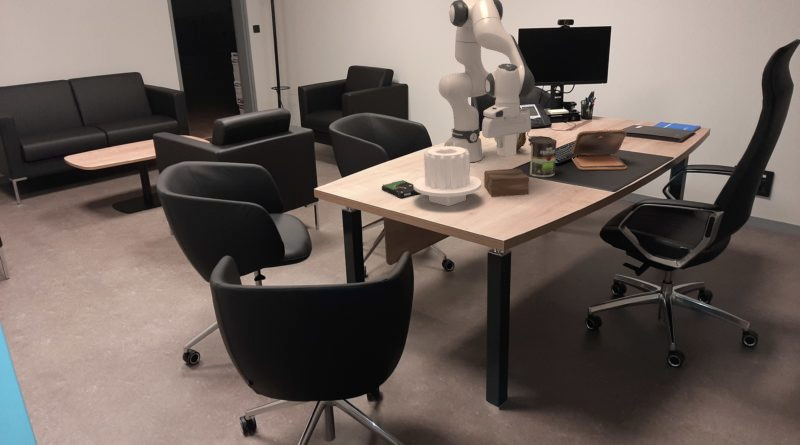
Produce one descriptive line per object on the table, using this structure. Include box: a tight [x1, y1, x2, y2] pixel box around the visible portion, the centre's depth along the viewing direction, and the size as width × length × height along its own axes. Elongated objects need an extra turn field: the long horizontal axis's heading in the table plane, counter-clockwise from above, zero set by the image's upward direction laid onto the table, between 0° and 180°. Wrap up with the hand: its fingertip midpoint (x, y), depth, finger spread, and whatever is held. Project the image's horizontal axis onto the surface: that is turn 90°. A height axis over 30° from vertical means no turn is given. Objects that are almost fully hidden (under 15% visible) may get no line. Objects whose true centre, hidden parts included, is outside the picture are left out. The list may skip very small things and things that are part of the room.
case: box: [571, 129, 628, 171], centre depth 269 cm, size 20×21×16 cm
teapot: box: [516, 132, 527, 152], centre depth 296 cm, size 21×12×15 cm, turn 25°
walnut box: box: [483, 168, 530, 198], centre depth 241 cm, size 13×14×7 cm
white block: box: [496, 134, 517, 158], centre depth 235 cm, size 5×5×8 cm
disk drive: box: [381, 180, 422, 200], centre depth 246 cm, size 10×3×15 cm
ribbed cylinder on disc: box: [412, 145, 482, 207], centre depth 230 cm, size 25×25×19 cm
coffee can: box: [529, 137, 557, 178], centre depth 259 cm, size 10×10×14 cm
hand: (506, 146), depth 236 cm, fingers closed on white block, 5 cm apart
